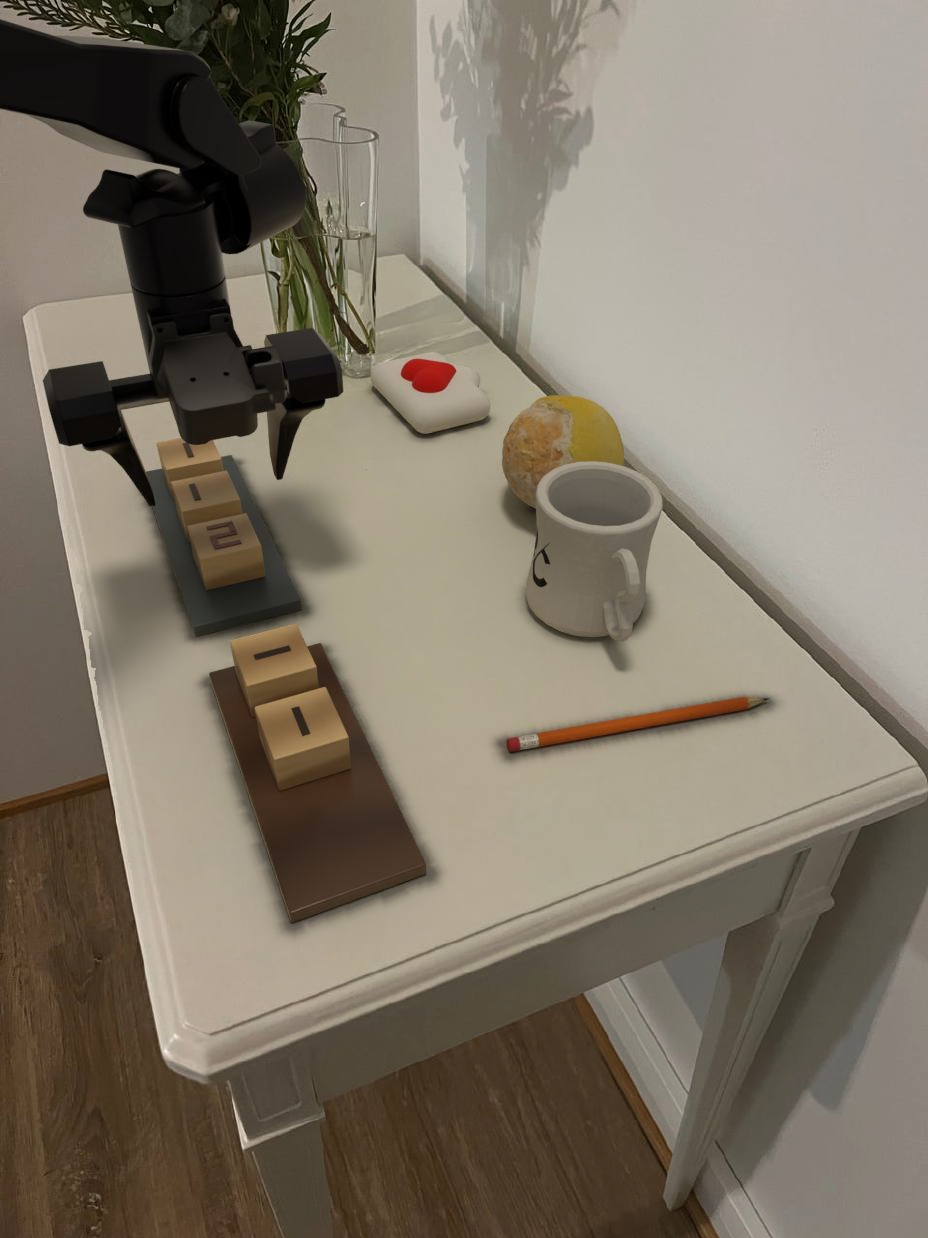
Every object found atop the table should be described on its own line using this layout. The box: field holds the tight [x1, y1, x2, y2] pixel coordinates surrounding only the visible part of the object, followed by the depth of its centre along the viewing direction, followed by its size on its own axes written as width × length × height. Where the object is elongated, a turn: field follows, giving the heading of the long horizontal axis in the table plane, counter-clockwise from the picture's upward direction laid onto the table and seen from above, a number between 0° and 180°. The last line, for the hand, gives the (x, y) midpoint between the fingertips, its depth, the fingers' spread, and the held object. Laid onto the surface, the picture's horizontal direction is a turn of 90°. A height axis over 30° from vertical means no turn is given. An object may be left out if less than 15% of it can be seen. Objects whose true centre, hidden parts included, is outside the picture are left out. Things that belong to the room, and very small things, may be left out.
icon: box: [370, 351, 491, 435], centre depth 94 cm, size 12×4×10 cm
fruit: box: [501, 394, 625, 510], centre depth 78 cm, size 10×11×10 cm
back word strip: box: [145, 437, 303, 637], centre depth 76 cm, size 22×8×4 cm, turn 24°
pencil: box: [505, 696, 771, 753], centre depth 63 cm, size 1×19×1 cm, turn 104°
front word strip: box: [208, 623, 427, 923], centre depth 58 cm, size 20×8×4 cm, turn 24°
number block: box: [187, 513, 265, 590], centre depth 72 cm, size 5×5×3 cm
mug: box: [525, 461, 663, 643], centre depth 68 cm, size 12×9×10 cm
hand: (216, 490), depth 68 cm, fingers open, 9 cm apart
